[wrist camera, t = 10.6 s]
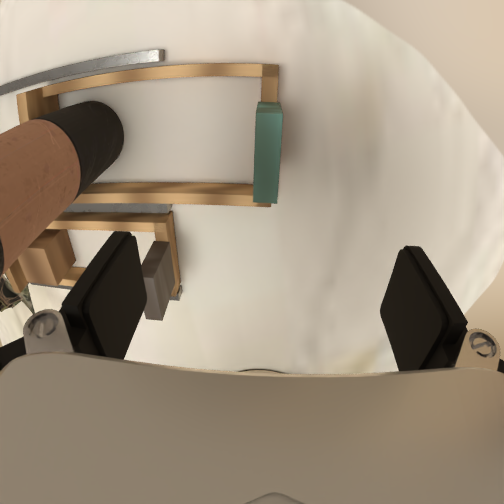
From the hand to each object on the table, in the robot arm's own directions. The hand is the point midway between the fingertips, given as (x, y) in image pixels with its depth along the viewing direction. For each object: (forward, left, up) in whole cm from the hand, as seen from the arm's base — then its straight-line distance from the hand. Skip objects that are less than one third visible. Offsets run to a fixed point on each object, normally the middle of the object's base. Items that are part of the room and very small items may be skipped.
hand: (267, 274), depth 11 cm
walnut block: (+25, +12, -19) cm, 33 cm away
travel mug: (+17, -1, -19) cm, 25 cm away
